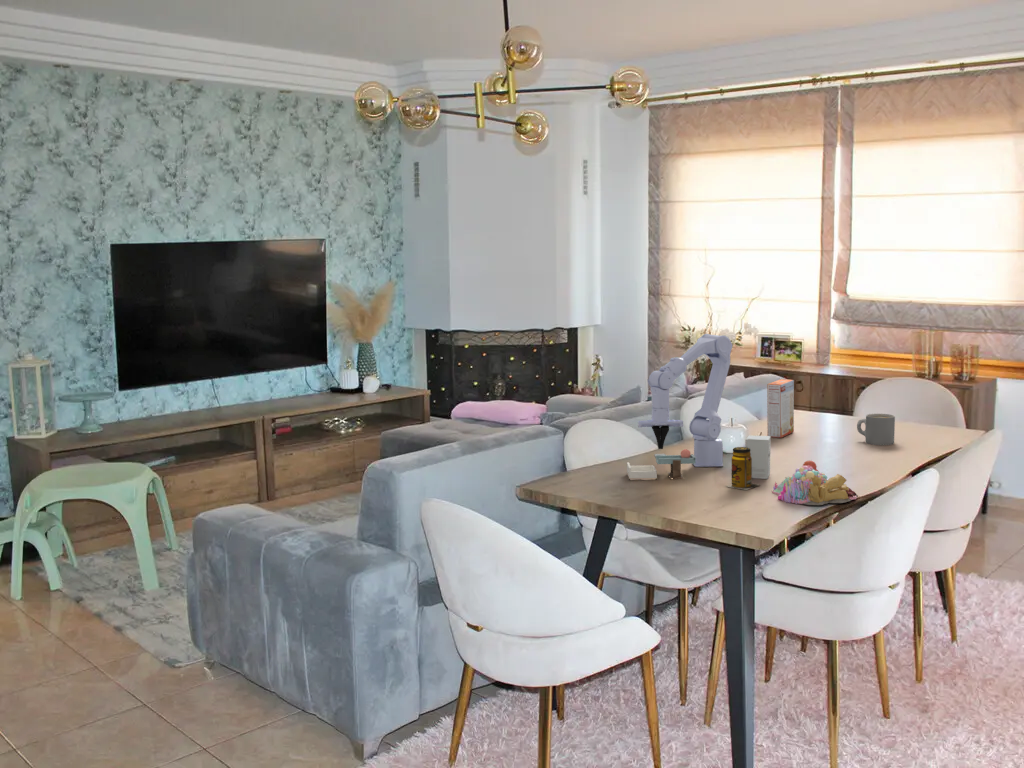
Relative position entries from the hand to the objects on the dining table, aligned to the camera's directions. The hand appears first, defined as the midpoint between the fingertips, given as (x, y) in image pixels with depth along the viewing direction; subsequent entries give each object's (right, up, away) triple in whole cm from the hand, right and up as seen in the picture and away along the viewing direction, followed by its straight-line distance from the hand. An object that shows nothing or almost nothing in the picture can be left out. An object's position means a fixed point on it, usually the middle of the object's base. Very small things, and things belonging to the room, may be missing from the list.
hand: (660, 448), depth 326 cm
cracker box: (+55, +1, +59) cm, 81 cm away
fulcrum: (+4, -9, -6) cm, 11 cm away
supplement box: (+30, -9, -8) cm, 32 cm away
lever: (+4, -4, -3) cm, 6 cm away
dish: (-7, -9, -6) cm, 13 cm away
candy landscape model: (+39, -12, -34) cm, 53 cm away
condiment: (+22, -10, -21) cm, 32 cm away
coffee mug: (+86, 0, +41) cm, 95 cm away
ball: (+7, -1, -7) cm, 10 cm away
